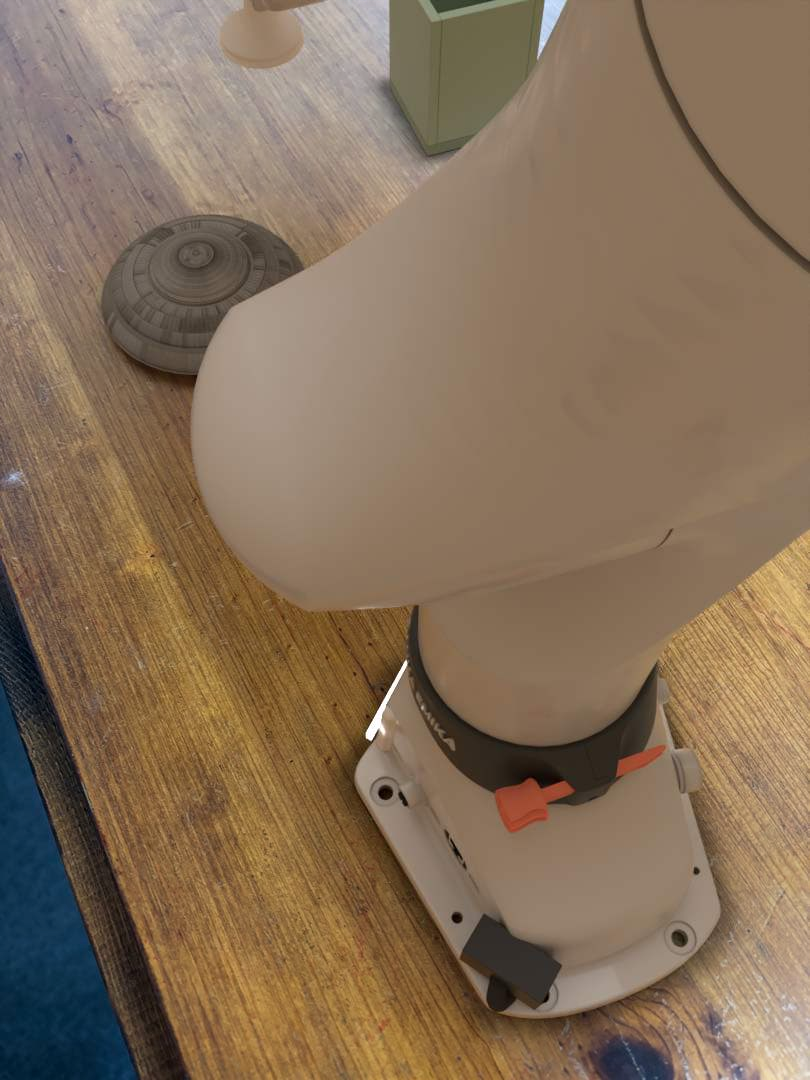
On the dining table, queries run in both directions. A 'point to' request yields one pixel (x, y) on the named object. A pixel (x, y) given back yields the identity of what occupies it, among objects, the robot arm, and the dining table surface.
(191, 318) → the flying saucer
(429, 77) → the bin
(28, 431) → the dining table surface
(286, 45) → the chess piece
